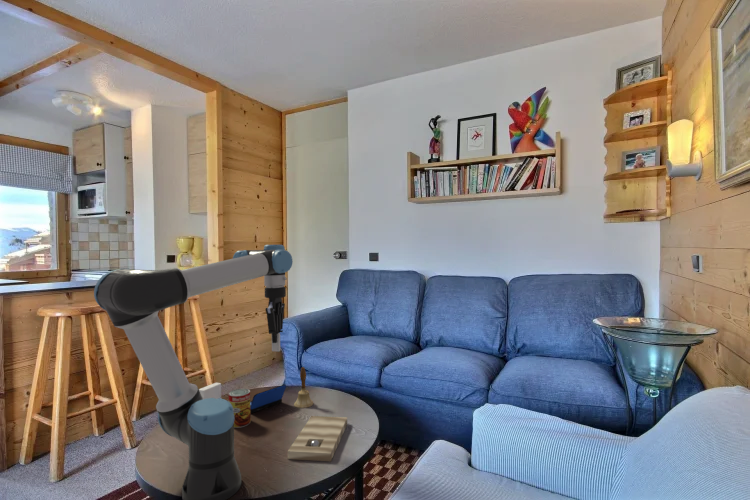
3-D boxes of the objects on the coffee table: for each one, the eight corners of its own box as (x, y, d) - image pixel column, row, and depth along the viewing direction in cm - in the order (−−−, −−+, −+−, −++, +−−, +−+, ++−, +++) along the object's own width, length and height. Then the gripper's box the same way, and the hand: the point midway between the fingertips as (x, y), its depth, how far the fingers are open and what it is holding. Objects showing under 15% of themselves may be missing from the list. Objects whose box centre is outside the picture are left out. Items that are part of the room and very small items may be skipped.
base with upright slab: (209, 422, 149) (208, 391, 149) (193, 418, 152) (192, 388, 152) (227, 413, 157) (226, 384, 157) (211, 410, 161) (211, 381, 161)
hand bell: (314, 406, 162) (313, 369, 162) (294, 409, 160) (293, 371, 160) (312, 399, 170) (311, 363, 170) (293, 401, 168) (292, 365, 168)
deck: (330, 461, 120) (330, 453, 120) (287, 459, 121) (287, 451, 121) (347, 424, 145) (347, 417, 145) (311, 422, 147) (311, 416, 147)
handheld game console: (270, 397, 174) (270, 377, 174) (287, 405, 165) (287, 384, 165) (238, 408, 162) (237, 386, 162) (254, 417, 153) (254, 394, 153)
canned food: (235, 429, 142) (235, 397, 142) (225, 423, 147) (224, 392, 147) (254, 422, 148) (254, 391, 148) (243, 417, 153) (243, 386, 153)
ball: (321, 441, 129) (320, 451, 127) (312, 440, 129) (310, 451, 127) (319, 439, 126) (317, 450, 124) (309, 439, 126) (308, 449, 125)
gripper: (278, 288, 134) (279, 355, 134) (291, 285, 147) (292, 346, 147) (257, 288, 135) (258, 355, 135) (272, 285, 148) (273, 346, 148)
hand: (276, 350), depth 141 cm, fingers closed
